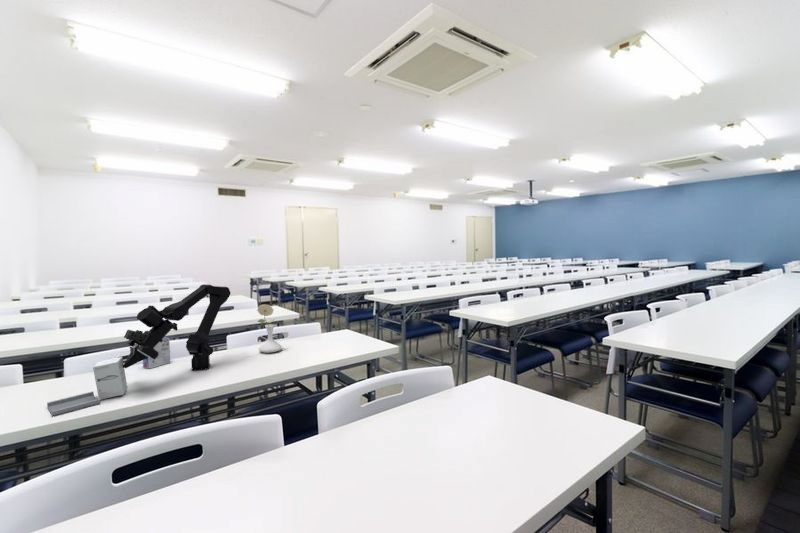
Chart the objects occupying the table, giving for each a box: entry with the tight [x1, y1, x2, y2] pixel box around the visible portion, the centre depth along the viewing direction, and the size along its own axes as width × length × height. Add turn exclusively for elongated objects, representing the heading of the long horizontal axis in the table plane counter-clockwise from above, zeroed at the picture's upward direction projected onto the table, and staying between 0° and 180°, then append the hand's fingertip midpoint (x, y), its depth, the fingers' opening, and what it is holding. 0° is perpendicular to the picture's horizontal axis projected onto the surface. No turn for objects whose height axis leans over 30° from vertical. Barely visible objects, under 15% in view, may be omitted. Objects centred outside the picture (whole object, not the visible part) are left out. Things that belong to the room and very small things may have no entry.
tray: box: [46, 390, 101, 417], centre depth 121 cm, size 12×11×2 cm
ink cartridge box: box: [142, 336, 171, 370], centre depth 163 cm, size 10×6×14 cm, turn 153°
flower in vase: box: [256, 304, 283, 354], centre depth 184 cm, size 13×11×25 cm
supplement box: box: [92, 356, 128, 401], centre depth 129 cm, size 7×7×13 cm
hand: (123, 367), depth 132 cm, fingers closed
